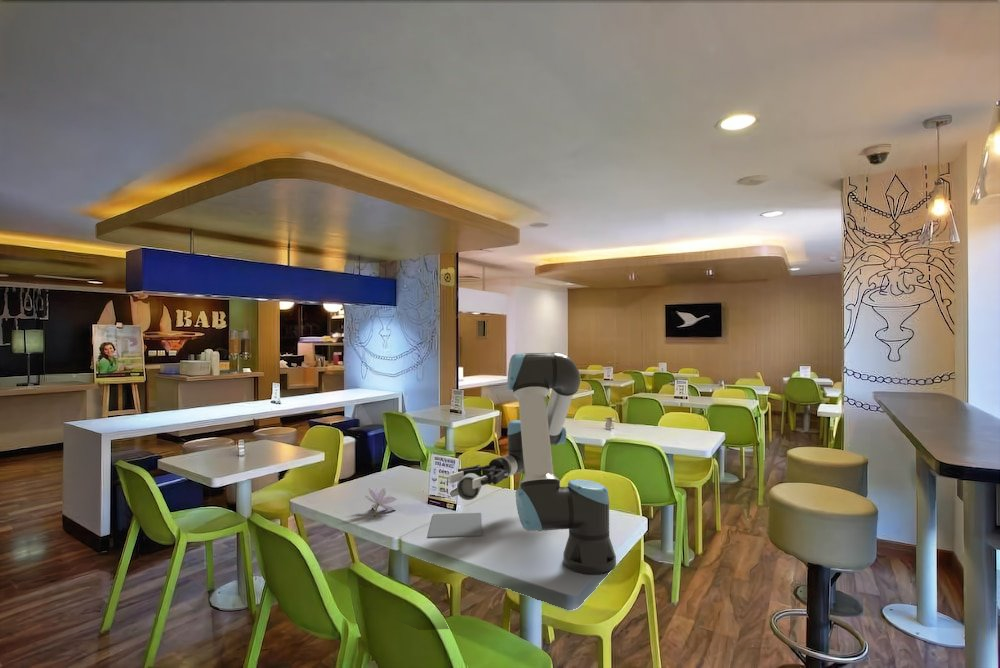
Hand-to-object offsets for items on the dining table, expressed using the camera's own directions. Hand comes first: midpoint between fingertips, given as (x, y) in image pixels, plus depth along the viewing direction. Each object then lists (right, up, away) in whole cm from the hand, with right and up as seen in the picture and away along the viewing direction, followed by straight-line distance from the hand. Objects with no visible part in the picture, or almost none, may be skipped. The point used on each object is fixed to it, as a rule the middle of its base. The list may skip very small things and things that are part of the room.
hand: (461, 481), depth 167 cm
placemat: (-3, -19, +12) cm, 23 cm away
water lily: (-32, -20, +27) cm, 47 cm away
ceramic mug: (+1, -6, +4) cm, 7 cm away
